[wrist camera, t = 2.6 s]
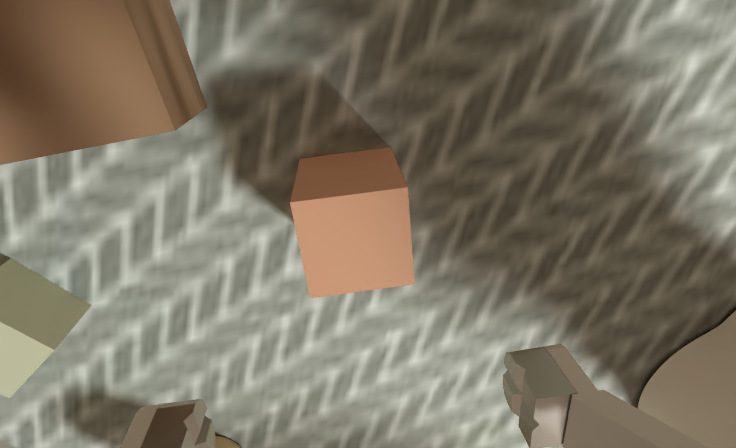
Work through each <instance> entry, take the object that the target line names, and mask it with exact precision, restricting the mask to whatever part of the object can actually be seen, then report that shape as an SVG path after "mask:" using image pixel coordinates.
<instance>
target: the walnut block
mask: <svg viewBox="0 0 736 448" xmlns="http://www.w3.org/2000/svg"><path fill="white" fill-rule="evenodd" d="M206 108H207V106H206V103H205V100H204V97H203V94H202V92H201V89H200V86H199V83H198V80H197V77H196V74H195V72H194V69H193V66H192V63H191V60H190V57H189V55H188V52H187V49H186V46H185V43H184V40H183V37H182V35H181V32H180V29H179V26H178V23H177V20H176V17H175V15H174V12H173V9H172V6H171V3H170V0H0V165H2V164H7V163H12V162H17V161H22V160H28V159H33V158H38V157H43V156H48V155H53V154H58V153H63V152H68V151H74V150H79V149H84V148H89V147H94V146H99V145H104V144H109V143H114V142H120V141H125V140H130V139H135V138H140V137H145V136H150V135H155V134H160V133H166V132H171V131H175V130H177V129H178V128H179V127H181V126H182V125H183V124H185V123H186V122H188V121H189V120H190V119H192V118H193V117H195V116H196V115H197V114H199V113H200V112H201V111H203V110H204V109H206Z"/></svg>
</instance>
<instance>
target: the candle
mask: <svg viewBox="0 0 736 448" xmlns="http://www.w3.org/2000/svg"><path fill="white" fill-rule="evenodd" d="M215 448H241V447H240V446H239V445H238V444H237V443H235V442H234V441H232V440H230V439H227V438H224V437H221V436H215Z"/></svg>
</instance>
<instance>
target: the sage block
mask: <svg viewBox="0 0 736 448" xmlns="http://www.w3.org/2000/svg"><path fill="white" fill-rule="evenodd" d="M90 307H91V305H90V304H89V303H87V302H85V301H83V300H82V299H80V298H78V297H77V296H75V295H73V294H72V293H70V292H68V291H66V290H65V289H63V288H61V287H60V286H58V285H56V284H54V283H53V282H51V281H49V280H48V279H46V278H44V277H42V276H41V275H39V274H37V273H36V272H34V271H32V270H30V269H29V268H27V267H25V266H24V265H22V264H20V263H19V262H17V261H15V260H13V259H12V258H10V259H9V260H8V261H6V262H5V263H4V264H2V265H1V266H0V394H1V395H3V396H5V397H7V398H10V397H11V396H12V395H13V394H14V393H15V392H16V391H17V390H18V388H19V387H20V386H21V385H22V384H23V383H24V382H25V381H26V380H27V379H28V378H29V377H30V376H31V375H32V373H33V372H34V371H35V370H36V369H37V368H38V367H39V366H40V365H41V364H42V363H43V362H44V361H45V360H46V358H47V357H48V356H49V355H50V354H51V353H52V352H53V351H54V350H55V349H56V347H57V346H58V345H59V344H60V343H61V341H62V340H63V339H64V338H65V337H66V335H67V334H68V333H69V332H70V331H71V329H72V328H73V327H74V326H75V325H76V323H77V322H78V321H79V320H80V319H81V317H82V316H83V315H84V314H85V313H86V311H87V310H88V309H89V308H90Z"/></svg>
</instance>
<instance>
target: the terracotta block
mask: <svg viewBox="0 0 736 448" xmlns="http://www.w3.org/2000/svg"><path fill="white" fill-rule="evenodd" d="M290 205H291V210H292V215H293V220H294V224H295V229H296V234H297V238H298V243H299V248H300V252H301V257H302V262H303V266H304V271H305V276H306V280H307V285H308V290H309V294H310V298H315V297H322V296H330V295H337V294H345V293H352V292H359V291H367V290H374V289H382V288H389V287H397V286H404V285H412V284H414V269H413V255H412V240H411V225H410V211H409V196H408V186H407V184H406V182H405V179H404V177H403V175H402V173H401V170H400V168H399V166H398V163H397V161H396V159H395V156H394V154H393V152H392V150H391V147H387V148H379V149H371V150H363V151H355V152H347V153H340V154H332V155H324V156H316V157H308V158H300V161H299V165H298V169H297V174H296V178H295V183H294V187H293V191H292V196H291V200H290Z"/></svg>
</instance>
